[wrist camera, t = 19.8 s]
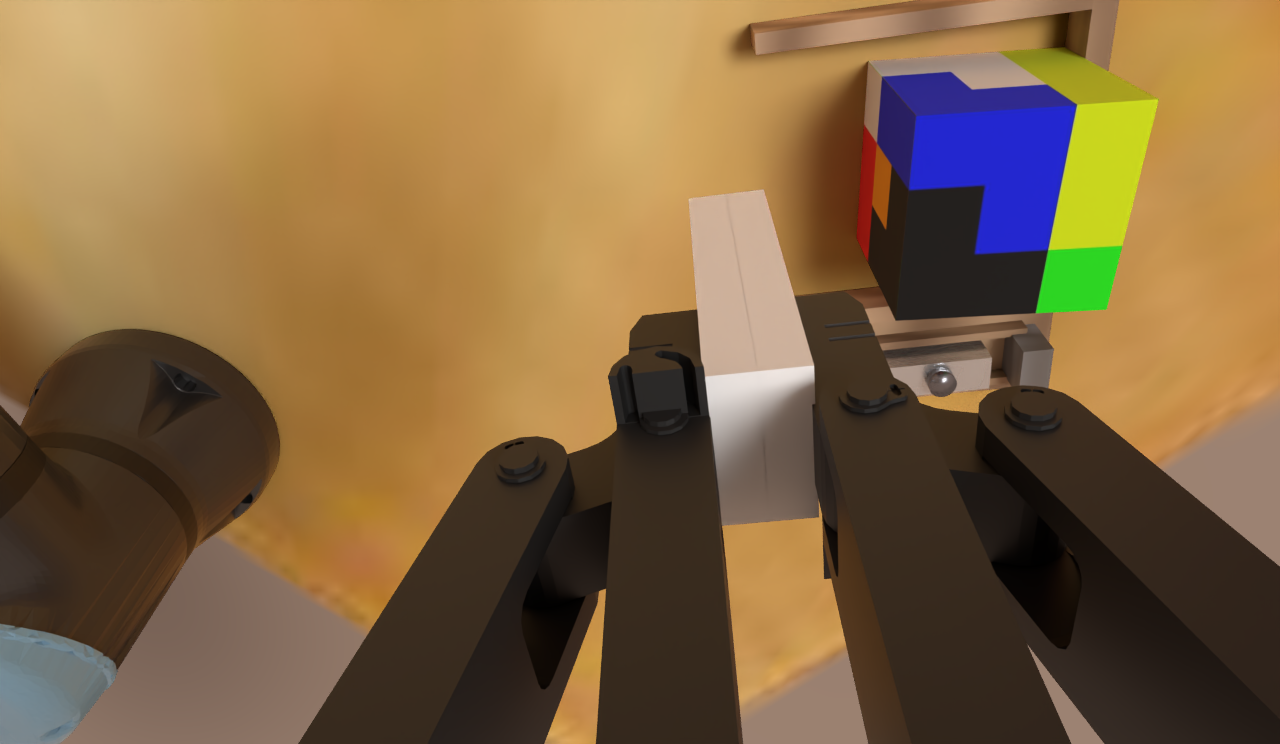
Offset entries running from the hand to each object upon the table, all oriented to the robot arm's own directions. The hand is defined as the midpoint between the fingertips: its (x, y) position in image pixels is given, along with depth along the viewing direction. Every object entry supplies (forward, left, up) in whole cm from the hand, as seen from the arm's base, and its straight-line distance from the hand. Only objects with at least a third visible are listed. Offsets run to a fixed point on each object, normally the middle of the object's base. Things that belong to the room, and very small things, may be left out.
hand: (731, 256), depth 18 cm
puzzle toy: (+14, -10, -31) cm, 35 cm away
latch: (+13, -22, -30) cm, 39 cm away
